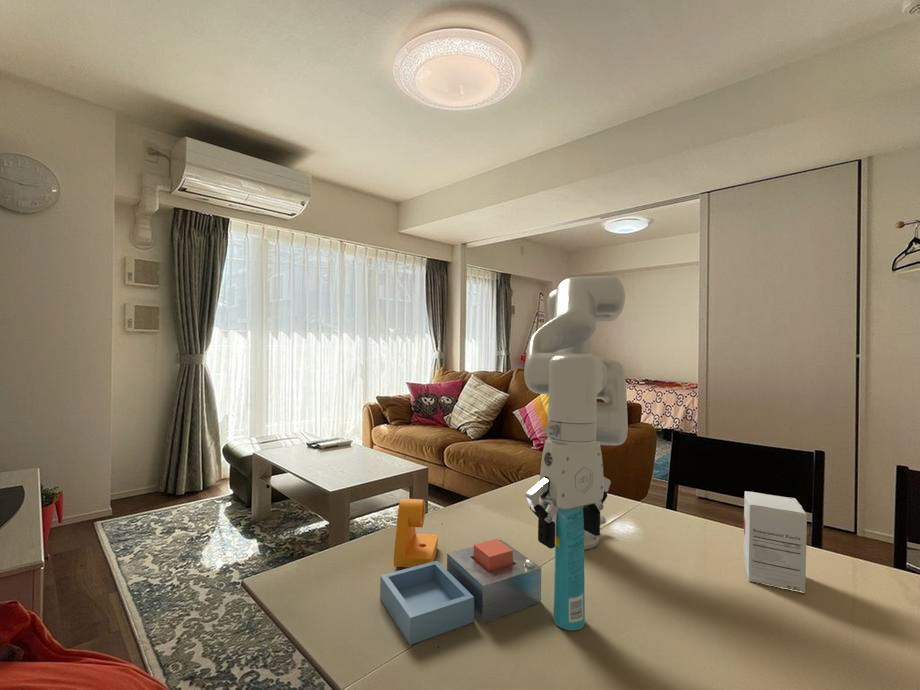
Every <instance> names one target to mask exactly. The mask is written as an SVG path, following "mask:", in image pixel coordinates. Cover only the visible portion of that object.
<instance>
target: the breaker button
mask: <svg viewBox="0 0 920 690" xmlns="http://www.w3.org/2000/svg"><path fill="white" fill-rule="evenodd" d="M499 540H500V539H498V538H495V539H491V540H487V541H483V542H480V543H479V542H478V543H475V544H473V547H474V561H475V562H477V563H478V564H479V565H480V566H481V567H483V568H484V569H485V570H486V571H487V572H491V571H495V570H498V569H501V568H505V567H508V566H511V565H513V550H512V549H510V548H509V547H508V546H506V545H505V544H503V543H502V542H501V541H499Z"/></svg>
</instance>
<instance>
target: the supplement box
mask: <svg viewBox="0 0 920 690" xmlns="http://www.w3.org/2000/svg"><path fill="white" fill-rule="evenodd" d="M743 498H744V499H743V500H744V501H743V503H744V504H743V505H744V506H743V507H744V508H743V510H744V511H743V513H744V514H743V557H742V560H744V562H743V566H744V565H745V566H744V569H746V570H745V574H746V573H747V574H746V576H747V577H748V578H747V577H746V578H747V581H748V580H751V581H755V582H759V583H764V584H769V585H773V586H776V587H777V586H778V587H783V588H788V589H792V590H797V591H802V592H805V593H806V573H807V572H806V570H807V569H806V567H807V535H808V534H807V531H808V530H807V526H808V525H807V524H808V523H807V522H808V514H807V513H806V511H805V510H804V509H803V506H802V505H801V504H800V502H799V501H798V500H797V498H795V497H787V496H781V495H773V494H766V493H761V492H755V491H746V490H745V491H744V496H743Z"/></svg>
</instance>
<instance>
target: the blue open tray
mask: <svg viewBox="0 0 920 690" xmlns="http://www.w3.org/2000/svg"><path fill="white" fill-rule="evenodd" d="M379 576H380V580H379V581H380V582H379V583H380V584H379V587H380V588H379V590H380V591H379V599H380V601H381V602H382V604H383V606H384V607H385V609H386V610H387V612H388V613H389V615H390V616H391V618H392V620H393V621H394V622H395V625H396V626H397V627H398V629H399V631H400V632H401V633H402V636H403V637H404V638H405V640H406V641H407V643H408V645H409V646H412V645H413V644H416V643H419V642H422V641H426V640H428V639H431V638H433V637H436V636H439V635H442V634H445V633H447V632H451V631H453V630H456V629H459V628H462V627H464V626H466V625H469V624H473V623H474V621H475V619H474V617H475V616H474V596H473V595H471V594H470V593H469V592H468V591H467V590H466V589H465V588H464V587H463V586H462V585H461V584H460V583H459V582H458V581H457V580H456V579H455V578H454V577H453V576H452V575H451V574H450V573H449V572H448V571H447V568H445V567H444V565H443V564H441V562H439V561H438V560H434V562H430V563H426V564H422V565H419V566H415V567H411V568H410V567H406V568H404V569H401V570H397V571H392V572H390V573H389V572H388V573H384V574H381V575H379Z"/></svg>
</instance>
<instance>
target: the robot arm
mask: <svg viewBox="0 0 920 690" xmlns="http://www.w3.org/2000/svg"><path fill="white" fill-rule="evenodd" d="M625 302H626V293H625V287H624V285H623V283H622V280H620V279H619V278H617V277H616V276H612V275H597V276H596V275H590V276H588V275H586V276H585V275H584V276H571V277H567V278H565V279H564V280H562V281H561V282H560V283H559V284H558V286H557V288H556V289H554V290H552V291H551V292H550V293H549V295H548V296H547V300H546V303H547V304H546V306H547V307H546V309H547V316H548V320H549V321H547V322H546V323H545V324H543V325H542V326H541V327H539V328H538V329H537V330H536V331H535V332H534V333H533V334H532V336H531V338H530V339H529V342H528V345H527V348H526V357H525V362H524V370H523V375H524V376H523V377H524V378H523V379H524V382H525V385H526V387H527V389H528V390H529V391H531V392H532V393H534V394H539V395H548V396H547V397H548V404H547V406H548V407H547V426H545V427H544V430H543V431H544V434H545V435H546V436H547V439H545V441H544V445H543V450H542V455H541V456H542V457H541V462H540V463H541V464H540V474H539V481H538V482H537V483H536V484H535V485H534V486H532V487H531V488H530V489H529V490H528V491H526V493H525V499H526V501H527V504H528V505H529V509H530V510H531V512H532V513H533V514H534V516H535V517H536V518H537V519H538V520H537V523H538V524H537V540H538V542H539V543H540V544H542V545H543V546H545V547H547V548H549V549H550V550H551V549H555V535H556V516H557V511H558V509H561V510H568V509H573V508H577V507H582V506H583V516H584V550H589V549H592V548H595V547H596V546H597V545H598V544H600V543H599V542H600V535H601V525H605V524H606V523H607V520H606V517H605V516H604V515H601V511H603V509H604V503H605V501H606V499H607V498H608V492H609V489H610V486H611V480H610V479H609V478H607V477H605V476H604V463H603V454H602V448H601V446H620V445H622V444H624V443H625V442H626V440H627V438H628V431H629V430H628V429H629V426H628V425H629V424H628V423H629V420H628V419H629V418H628V399H627V398H628V397H627V379H626V372H625V369H624V366H623V364H622V363H621V362H619V361H618V360H615V359H609V358H607V359H606V358H601V357H600V356H599V355H596V354H594V353H593V343H592V340H591V338H592V337H593V335H594V334H595V332H596V328H597V322H613V321H615V320H617V319H618V317H619V316H620V314H622V312H623V310H624V307H625ZM597 400H602V402H601V401H597ZM540 499H541V501H540ZM548 506H549V508H548ZM547 508H548V509H547ZM546 509H547V511H546Z"/></svg>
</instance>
